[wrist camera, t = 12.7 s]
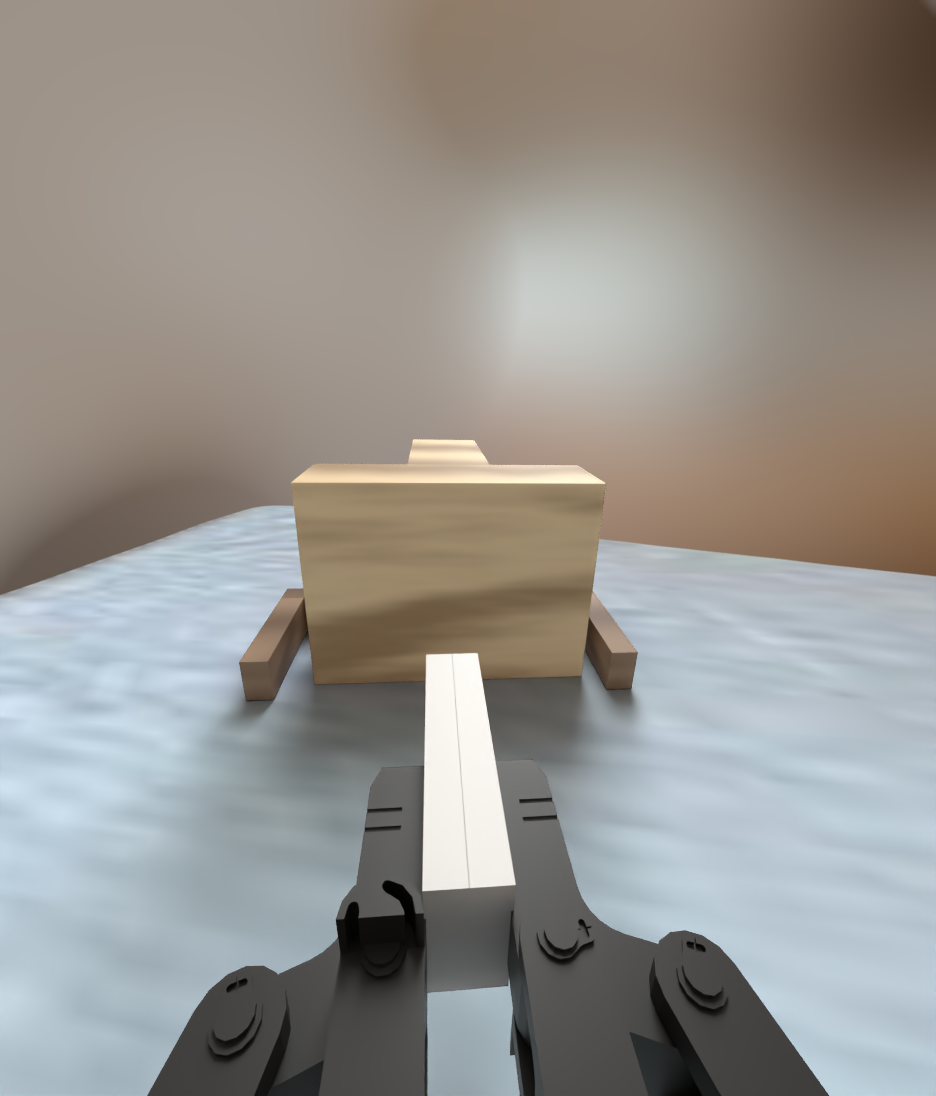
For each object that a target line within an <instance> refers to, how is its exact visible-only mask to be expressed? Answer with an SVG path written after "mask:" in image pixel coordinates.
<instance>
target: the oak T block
mask: <svg viewBox="0 0 936 1096" xmlns="http://www.w3.org/2000/svg"><path fill="white" fill-rule="evenodd" d="M291 485H292V494H293V502H294V511H295V520H296V528H297V537H298V546H299V555H300V563H301V572H302V581H303V589H304V598H305V607H306V615H307V624H308V633H309V641H310V650H311V659H312V667H313V676H314V684H343V683H376V682H408V681H426V655H431V654H464V653H478V659H479V665H480V671H481V677H482V679H504V678H537V677H569V676H581V675H582V667H583V660H584V652H585V644H586V636H587V628H588V621H589V613H590V605H591V597H592V590H593V582H594V574H595V566H596V558H597V551H598V543H599V535H600V527H601V519H602V512H603V504H604V496H605V487H606V483H604V482H603V481H601V480H600V479H598V478H596V477H594V476H593V475H592V474H590V473H589V472H587V471H585V470H584V469H582V468H581V467H579V466H571V465H570V466H569V465H568V466H567V465H562V466H561V465H489V463H488V462H487V460H486V458H485V457H484V455H483V454H482V452H481V451H480V449H479V448H478V446H477V445H476V443H475V442H474V440H413V443H412V448H411V452H410V457H409V461H408V464H403V465H402V464H401V465H400V464H314V465H313V466H311V467H310V468H309V469H307V470H306V471H305V472H304V473H302V474H301V475H300V476H299V477H297V478H296V479H295V480H294V481H293V482H291Z"/></svg>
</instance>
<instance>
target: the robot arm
mask: <svg viewBox="0 0 936 1096" xmlns="http://www.w3.org/2000/svg"><path fill="white" fill-rule="evenodd" d="M336 925H337V932H338V938H337V939H336V941H335V942H334V943H333V944H332V945H331V946H329V947H328V948H327V949H326V950H325V951H324V952H323V953H321V954H319V955H318V956H316V957H314V958H312V959H311V960H309V961H307V962H304V963H302V964H300V965H298V966H296V967H293V968H291V969H289V970H287V971H285V972H283V973H280V974H277V973H276V972H274V971H272V970H270V969H268V968H266V967H265V966H246V967H244V968H241V969H239V970H237V971H235V972H232V973H230V974H228V975H227V976H225V977H224V978H223V979H222V980H221V981H220V982H218V983H217V984H216V985H215V986H214V987H212V988H211V989H210V990H209V991H208V993H207V994H206V996H205V997H204V998H203V1000H202V1001H201V1003H200V1004H199V1005H198V1007H197V1008H196V1009H195V1011H194V1013H193V1014H192V1016H191V1018H190V1020H189V1022H188V1023H187V1025H186V1027H185V1029H184V1031H183V1032H182V1034H181V1036H180V1038H179V1040H178V1041H177V1043H176V1045H175V1047H174V1049H173V1050H172V1052H171V1054H170V1056H169V1058H168V1059H167V1061H166V1063H165V1065H164V1067H163V1068H162V1070H161V1072H160V1074H159V1076H158V1077H157V1079H156V1081H155V1083H154V1085H153V1086H152V1088H151V1090H150V1092H149V1094H148V1095H147V1096H427V1050H428V1038H427V993H430V992H442V991H454V990H465V989H477V988H489V987H501V986H508V980H510V988H511V995H512V1003H513V1015H512V1027H511V1041H510V1055H515V1058H516V1066H517V1075H518V1083H519V1091H520V1096H829V1095H828V1093H827V1092H826V1091H825V1089H824V1088H823V1086H822V1085H821V1084H820V1082H819V1081H818V1079H817V1078H816V1077H815V1075H814V1074H813V1072H812V1071H811V1070H810V1068H809V1067H808V1066H807V1064H806V1063H805V1061H804V1060H803V1059H802V1057H801V1056H800V1054H799V1053H798V1052H797V1050H796V1049H795V1047H794V1046H793V1045H792V1043H791V1042H790V1040H789V1039H788V1038H787V1036H786V1035H785V1033H784V1032H783V1031H782V1029H781V1028H780V1026H779V1025H778V1024H777V1022H776V1021H775V1019H774V1018H773V1017H772V1015H771V1014H770V1012H769V1011H768V1010H767V1008H766V1007H765V1005H764V1004H763V1003H762V1001H761V1000H760V999H759V997H758V996H757V994H756V993H755V992H754V990H753V989H752V987H751V986H750V985H749V983H748V982H747V980H746V979H745V978H744V976H743V975H742V973H741V972H740V971H739V969H738V968H737V966H736V965H735V964H734V963H733V961H732V960H731V959H730V958H729V957H728V956H727V955H726V954H725V953H724V952H723V950H722V949H721V948H720V947H719V946H717V945H716V944H714V943H713V942H711V941H710V940H708V939H707V938H705V937H704V936H702V935H699V934H695V933H692V932H689V931H685V930H684V931H677V932H670V933H669V934H668V935H666V936H665V937H664V938H663V939H661V940H660V941H659V944H656V943H653V942H649V941H646V940H643V939H640V938H636V937H633V936H630V935H626V934H623V933H621V932H619V931H616V930H614V929H612V928H610V927H609V926H607V925H606V924H604V923H603V922H601V921H600V920H599V919H598V918H597V917H596V916H595V915H594V914H593V913H592V912H591V911H590V910H589V908H588V907H587V905H586V904H585V902H584V901H583V899H582V897H581V895H580V892H579V890H578V887H577V884H576V880H575V877H574V873H573V870H572V866H571V863H570V859H569V856H568V852H567V849H566V845H565V842H564V838H563V834H562V831H561V827H560V824H559V820H558V819H557V813H556V810H555V806H554V803H553V802H552V796H551V792H550V789H549V785H548V781H547V778H546V776H545V775H544V773H543V772H542V771H541V770H540V768H539V767H538V766H537V764H536V763H535V762H534V761H533V759H528V760H507V761H495V756H494V750H493V744H492V738H491V732H490V726H489V719H488V713H487V707H486V701H485V695H484V689H483V683H482V677H481V671H480V665H479V659H478V653H464V654H431V655H426V699H425V760H424V766H410V767H389V768H382V769H381V771H380V772H379V774H378V776H377V777H376V779H375V781H374V782H373V784H372V786H371V787H370V794H369V801H368V808H367V815H366V822H365V832H364V836H363V843H362V850H361V857H360V864H359V870H358V877H357V884H356V885H355V886H354V887H353V888H352V889H351V891H350V892H349V893H348V895H347V896H346V897H345V898H344V900H343V901H342V903H341V906H340V909H339V912H338V915H337V918H336Z"/></svg>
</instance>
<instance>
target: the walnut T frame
mask: <svg viewBox="0 0 936 1096" xmlns="http://www.w3.org/2000/svg"><path fill="white" fill-rule="evenodd" d="M307 630H308V624H307V615H306V607H305V598H304V589H287V590H286V592H285V593H284V595H283V596H282V598H281V599H280V601H279V602H278V604H277V605H276V607H275V609H274V610H273V612H272V613H271V615H270V616H269V618H268V619H267V621H266V622H265V624H264V625H263V627H262V628H261V630H260V631H259V633H258V634H257V636H256V637H255V639H254V640H253V642H252V643H251V645H250V646H249V648H248V649H247V651H246V652H245V654H244V656H243V657H242V659H241V660H240V662H239V664H240V670H241V676H242V681H243V687H244V692H245V698H246V700H274V698H275V696H276V694H277V692H278V690H279V688H280V686H281V684H282V682H283V680H284V677H285V675H286V673H287V671H288V669H289V667H290V665H291V663H292V661H293V659H294V657H295V654H296V652H297V650H298V648H299V646H300V644H301V642H302V640H303V638H304V636H305V634H306V631H307ZM585 651H586V653H587V655H588V657H589V658H590V660H591V662H592V664H593V666H594V667H595V669H596V671H597V673H598V675H599V676H600V678H601V680H602V682H603V684H604V685H605V687H606V689H631V688H632V682H633V676H634V671H635V665H636V659H637V653H638V652H637V651H636V649H635V648H634V647H633V645H632V644H631V642H630V641H629V640H628V638H627V637H626V636H625V634H624V633H623V632H622V630H621V629H620V628H619V626H618V625H617V623H616V622H615V621H614V619H613V618H612V617H611V615H610V614H609V613H608V611H607V610H606V609H605V607H604V606H603V605H602V603H601V602H600V600H599V599H598V598H597V596H596V595H595V594H594V592H593V591H592V597H591V605H590V613H589V621H588V628H587V636H586V644H585Z"/></svg>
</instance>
